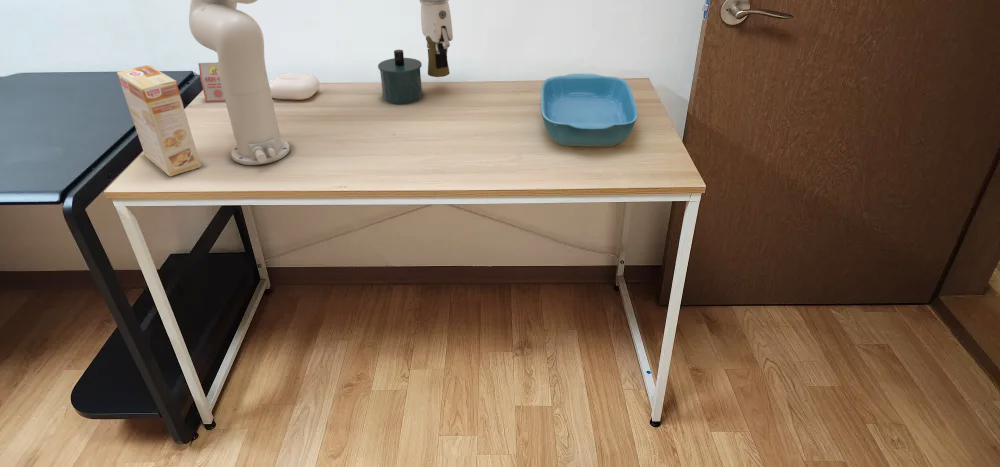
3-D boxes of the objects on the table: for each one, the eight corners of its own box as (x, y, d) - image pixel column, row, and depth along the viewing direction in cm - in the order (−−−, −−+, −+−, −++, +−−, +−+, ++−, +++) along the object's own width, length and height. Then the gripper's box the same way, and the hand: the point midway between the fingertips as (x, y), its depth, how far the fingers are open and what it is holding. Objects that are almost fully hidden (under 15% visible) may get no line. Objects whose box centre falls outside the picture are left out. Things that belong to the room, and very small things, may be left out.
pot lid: (428, 71, 168) (427, 53, 165) (387, 78, 163) (385, 60, 161) (411, 59, 176) (410, 42, 174) (372, 66, 172) (370, 48, 169)
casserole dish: (540, 96, 174) (541, 70, 170) (623, 97, 173) (626, 71, 169) (539, 156, 143) (540, 126, 139) (640, 158, 142) (644, 128, 138)
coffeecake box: (202, 167, 140) (177, 80, 129) (169, 177, 136) (140, 89, 125) (175, 146, 149) (150, 63, 138) (143, 155, 145) (114, 71, 134)
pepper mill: (423, 74, 175) (420, 34, 169) (435, 68, 179) (432, 28, 173) (442, 78, 173) (439, 37, 167) (453, 71, 177) (451, 31, 171)
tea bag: (210, 96, 175) (200, 60, 170) (235, 96, 176) (226, 60, 170) (206, 102, 172) (196, 65, 167) (232, 101, 173) (223, 64, 167)
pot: (428, 99, 172) (426, 68, 168) (391, 107, 168) (388, 75, 163) (413, 87, 180) (410, 57, 175) (377, 94, 176) (374, 64, 171)
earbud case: (279, 88, 180) (275, 69, 177) (324, 89, 179) (321, 70, 176) (264, 102, 172) (260, 82, 169) (311, 103, 171) (308, 83, 168)
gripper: (461, 0, 160) (464, 71, 170) (433, -13, 172) (437, 54, 182) (434, 3, 157) (438, 76, 167) (407, -10, 169) (413, 59, 179)
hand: (438, 64), depth 175 cm, fingers closed on pepper mill, 4 cm apart
